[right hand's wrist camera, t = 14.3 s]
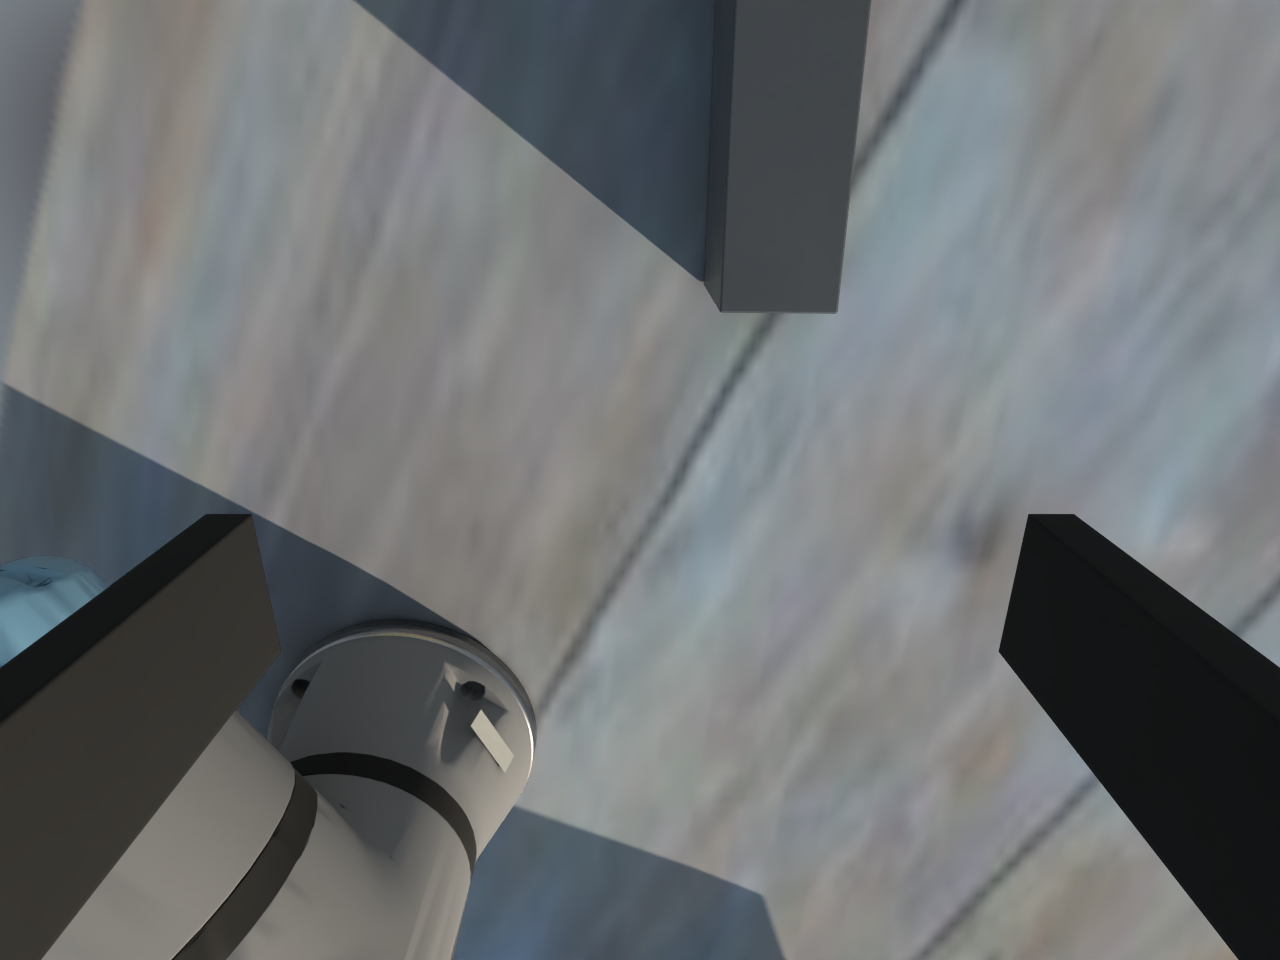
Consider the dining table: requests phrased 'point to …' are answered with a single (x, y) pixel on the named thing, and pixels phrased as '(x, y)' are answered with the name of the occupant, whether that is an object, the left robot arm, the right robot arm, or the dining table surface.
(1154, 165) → the dining table surface
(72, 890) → the right robot arm
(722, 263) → the beam
